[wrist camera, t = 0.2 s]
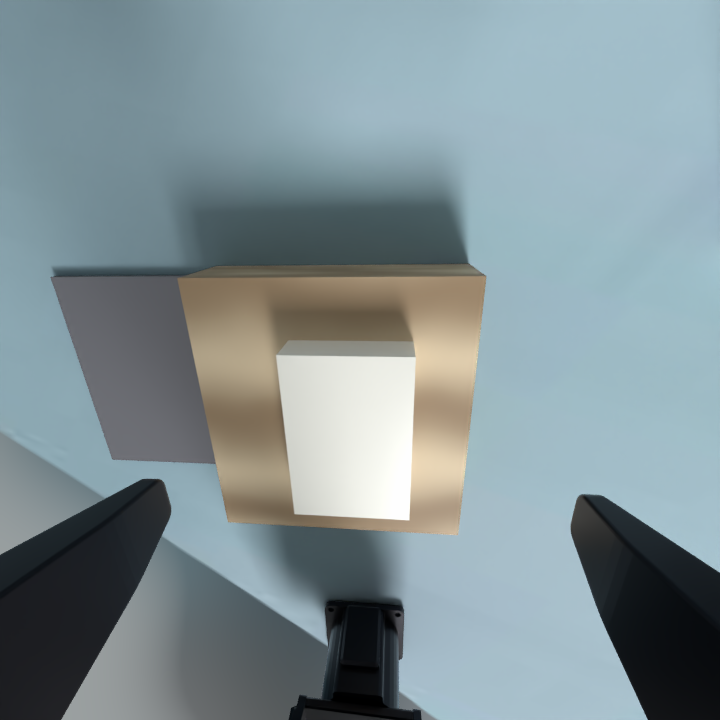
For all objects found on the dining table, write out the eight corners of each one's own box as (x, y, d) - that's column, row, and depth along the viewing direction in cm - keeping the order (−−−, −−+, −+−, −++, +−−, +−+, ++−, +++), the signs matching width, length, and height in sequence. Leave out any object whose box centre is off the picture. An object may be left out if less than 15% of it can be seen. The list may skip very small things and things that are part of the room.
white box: (407, 492, 20) (409, 520, 19) (303, 487, 21) (294, 514, 19) (413, 341, 17) (415, 357, 15) (288, 340, 18) (276, 355, 16)
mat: (248, 461, 26) (246, 465, 25) (116, 456, 27) (112, 459, 26) (217, 274, 21) (214, 276, 20) (56, 275, 22) (50, 277, 21)
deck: (448, 487, 25) (457, 534, 21) (251, 478, 26) (228, 522, 23) (468, 263, 19) (486, 276, 16) (216, 266, 21) (177, 278, 17)
